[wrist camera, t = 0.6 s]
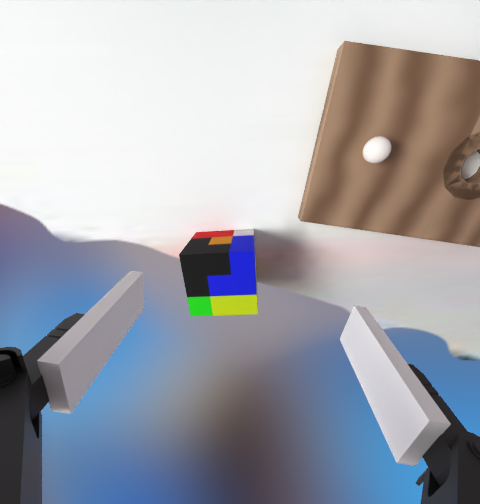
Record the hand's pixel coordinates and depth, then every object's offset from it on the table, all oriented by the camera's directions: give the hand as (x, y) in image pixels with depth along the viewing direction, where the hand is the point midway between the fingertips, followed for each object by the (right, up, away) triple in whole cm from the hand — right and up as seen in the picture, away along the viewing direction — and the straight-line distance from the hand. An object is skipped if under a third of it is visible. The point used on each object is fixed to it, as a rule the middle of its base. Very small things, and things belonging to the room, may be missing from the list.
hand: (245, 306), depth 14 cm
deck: (+25, +17, +19) cm, 36 cm away
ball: (+17, +17, +15) cm, 29 cm away
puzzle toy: (-3, +3, +27) cm, 27 cm away
